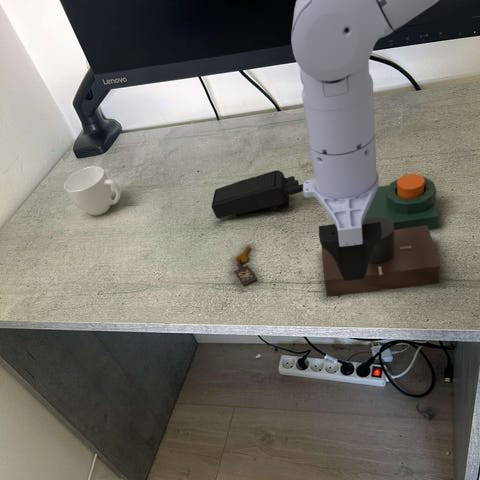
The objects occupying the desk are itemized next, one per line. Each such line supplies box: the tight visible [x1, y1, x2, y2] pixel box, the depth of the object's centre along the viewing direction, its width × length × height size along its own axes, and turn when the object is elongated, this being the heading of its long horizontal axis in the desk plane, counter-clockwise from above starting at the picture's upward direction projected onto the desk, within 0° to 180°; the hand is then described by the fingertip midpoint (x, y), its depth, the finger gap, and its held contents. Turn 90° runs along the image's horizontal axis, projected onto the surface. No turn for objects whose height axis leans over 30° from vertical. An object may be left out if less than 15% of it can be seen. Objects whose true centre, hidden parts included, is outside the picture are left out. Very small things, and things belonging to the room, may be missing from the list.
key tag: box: [234, 245, 258, 287], centre depth 72 cm, size 8×3×1 cm, turn 7°
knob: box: [362, 217, 394, 263], centre depth 62 cm, size 4×4×4 cm
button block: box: [364, 176, 440, 230], centre depth 71 cm, size 10×9×4 cm
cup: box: [63, 166, 122, 217], centre depth 90 cm, size 8×10×7 cm
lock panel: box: [320, 225, 441, 297], centre depth 64 cm, size 14×9×3 cm, turn 87°
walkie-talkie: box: [211, 169, 303, 219], centre depth 78 cm, size 6×6×20 cm
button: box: [397, 173, 425, 199], centre depth 68 cm, size 4×4×2 cm
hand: (351, 253), depth 53 cm, fingers open, 7 cm apart
